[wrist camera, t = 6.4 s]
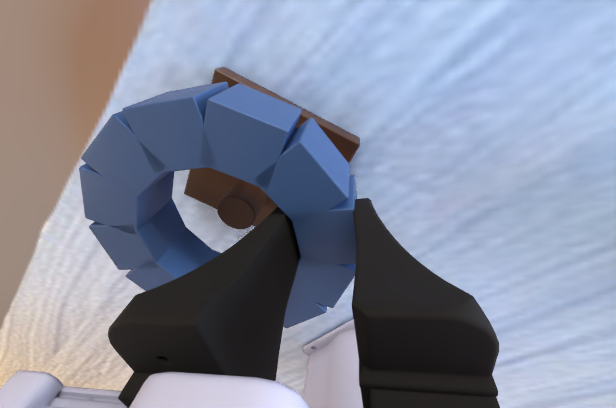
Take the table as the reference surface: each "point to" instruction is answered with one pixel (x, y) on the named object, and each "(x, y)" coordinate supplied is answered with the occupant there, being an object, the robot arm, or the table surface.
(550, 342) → the table surface
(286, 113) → the ring
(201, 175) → the brown peg stand
